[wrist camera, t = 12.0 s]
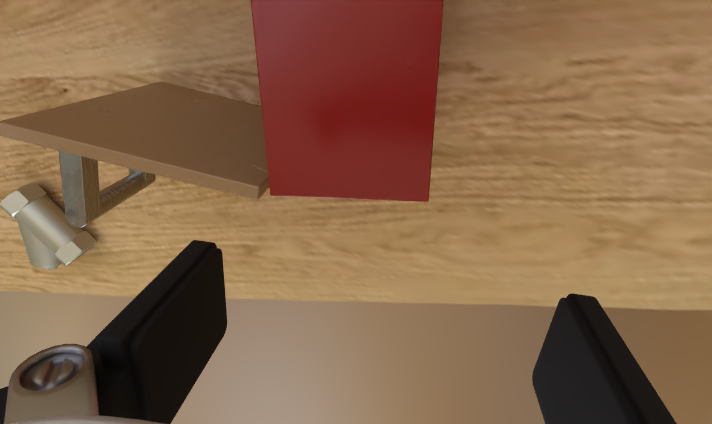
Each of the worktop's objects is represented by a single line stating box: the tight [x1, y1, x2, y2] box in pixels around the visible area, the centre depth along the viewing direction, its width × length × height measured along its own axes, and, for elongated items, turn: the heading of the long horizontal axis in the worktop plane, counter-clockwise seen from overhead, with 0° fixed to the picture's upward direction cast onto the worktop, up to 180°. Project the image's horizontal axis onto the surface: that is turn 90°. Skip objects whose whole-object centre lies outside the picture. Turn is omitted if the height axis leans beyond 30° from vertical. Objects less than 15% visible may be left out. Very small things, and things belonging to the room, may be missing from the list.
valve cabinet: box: [251, 0, 443, 202], centre depth 25 cm, size 8×14×16 cm, turn 0°
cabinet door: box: [0, 82, 269, 228], centre depth 30 cm, size 7×14×16 cm, turn 78°
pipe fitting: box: [0, 182, 97, 270], centre depth 41 cm, size 8×4×7 cm
